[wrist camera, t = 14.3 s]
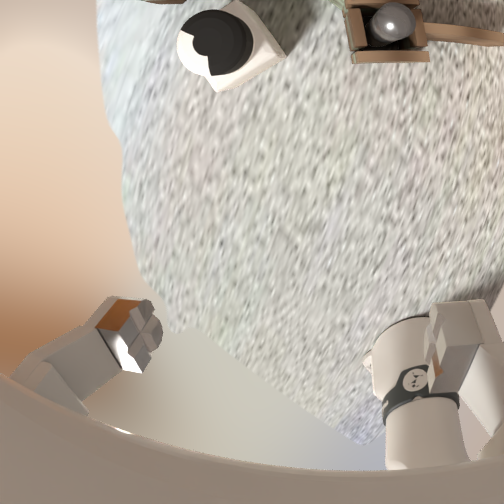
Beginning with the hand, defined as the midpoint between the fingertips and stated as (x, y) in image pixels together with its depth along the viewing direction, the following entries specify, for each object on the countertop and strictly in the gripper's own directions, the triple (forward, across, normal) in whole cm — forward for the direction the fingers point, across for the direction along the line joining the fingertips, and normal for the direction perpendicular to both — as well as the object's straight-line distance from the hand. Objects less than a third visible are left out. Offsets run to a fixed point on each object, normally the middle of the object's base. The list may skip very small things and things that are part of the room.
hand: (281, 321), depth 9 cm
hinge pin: (+31, -7, -11) cm, 33 cm away
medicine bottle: (+31, +8, -11) cm, 34 cm away
